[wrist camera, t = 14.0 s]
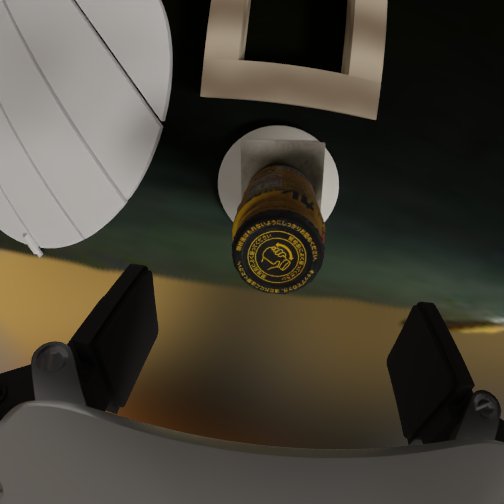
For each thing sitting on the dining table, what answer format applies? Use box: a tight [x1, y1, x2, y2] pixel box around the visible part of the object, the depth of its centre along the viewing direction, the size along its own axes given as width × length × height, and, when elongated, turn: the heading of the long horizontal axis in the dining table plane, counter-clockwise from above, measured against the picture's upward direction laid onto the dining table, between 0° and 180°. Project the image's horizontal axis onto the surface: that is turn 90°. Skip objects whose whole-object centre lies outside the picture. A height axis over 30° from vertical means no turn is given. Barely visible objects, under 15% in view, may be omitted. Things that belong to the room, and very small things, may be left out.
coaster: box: [218, 125, 339, 222], centre depth 27 cm, size 11×11×1 cm
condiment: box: [232, 140, 325, 294], centre depth 22 cm, size 7×8×12 cm
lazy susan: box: [0, 0, 173, 258], centre depth 24 cm, size 40×39×3 cm
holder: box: [200, 0, 387, 120], centre depth 19 cm, size 16×14×4 cm
